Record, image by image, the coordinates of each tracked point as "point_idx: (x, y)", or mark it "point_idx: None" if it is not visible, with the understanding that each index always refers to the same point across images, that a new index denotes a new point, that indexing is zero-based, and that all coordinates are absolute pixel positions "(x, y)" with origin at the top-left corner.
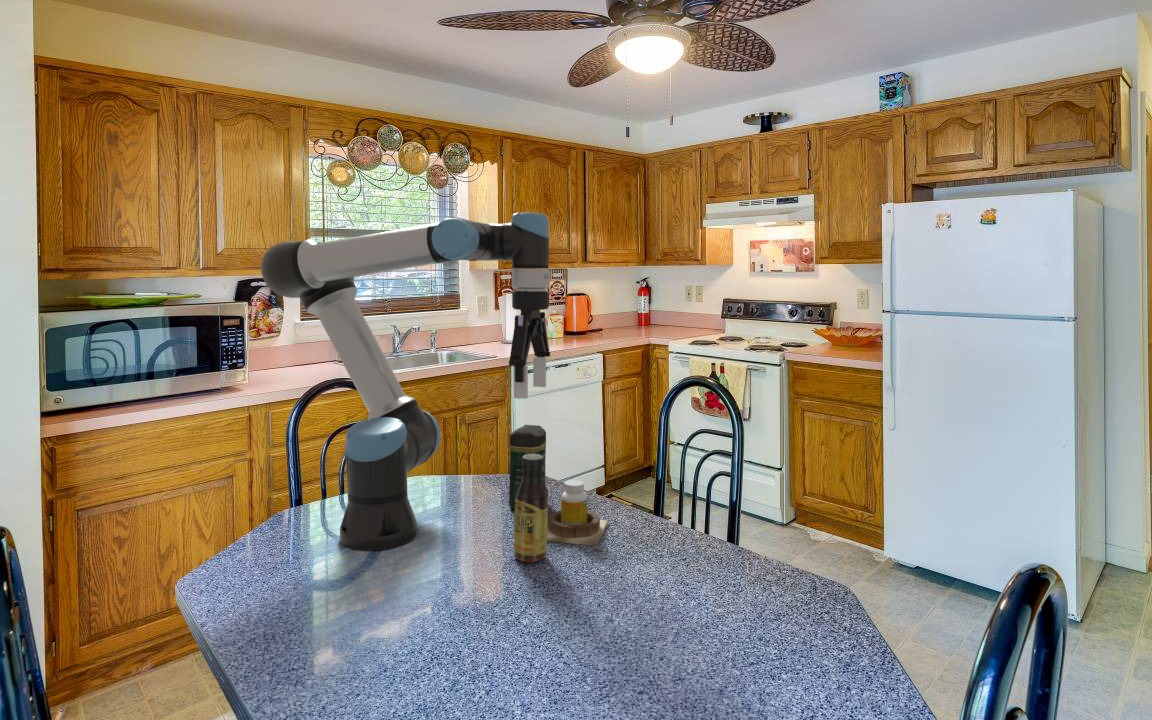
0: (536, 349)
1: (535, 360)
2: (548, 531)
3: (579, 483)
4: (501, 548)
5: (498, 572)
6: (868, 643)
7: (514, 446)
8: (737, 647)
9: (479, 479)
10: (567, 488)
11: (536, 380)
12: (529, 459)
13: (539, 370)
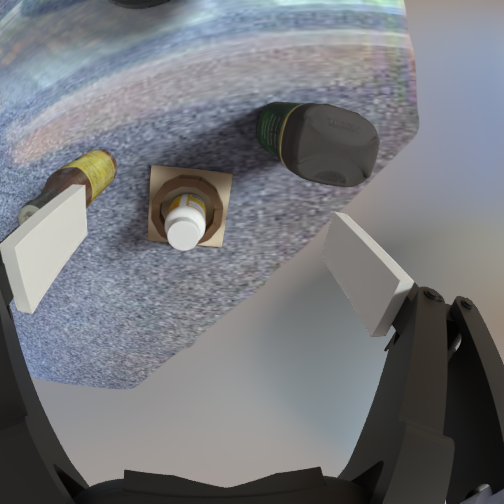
0: (405, 333)
1: (385, 281)
2: (170, 176)
3: (181, 244)
4: (119, 124)
5: (60, 144)
6: (70, 381)
7: (288, 116)
8: (32, 330)
9: (397, 57)
10: (170, 224)
11: (339, 235)
12: (18, 221)
13: (354, 271)
